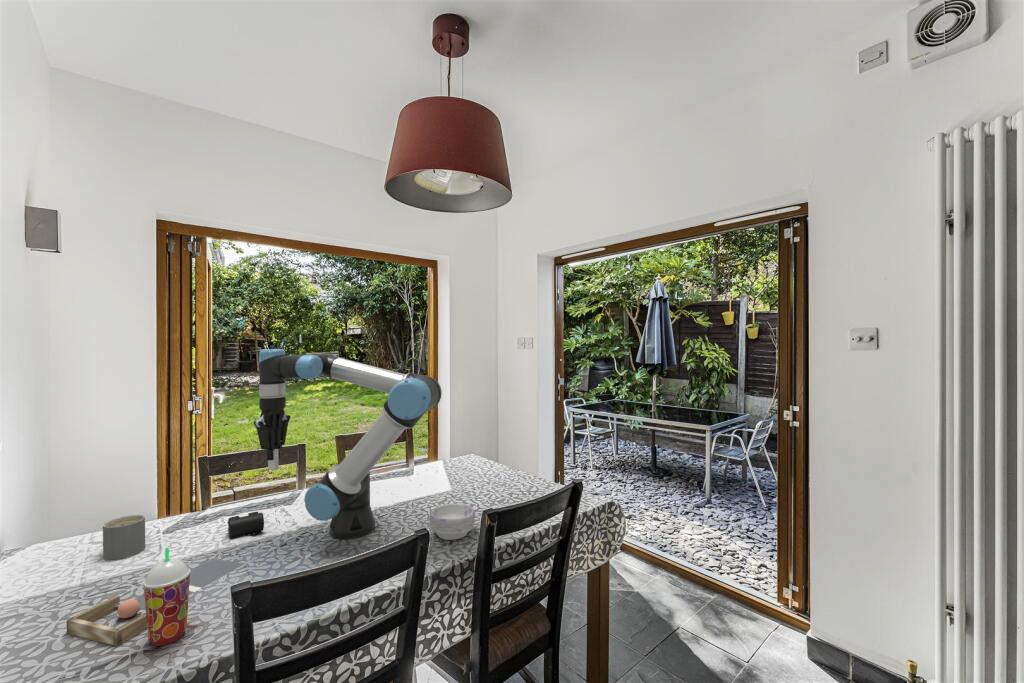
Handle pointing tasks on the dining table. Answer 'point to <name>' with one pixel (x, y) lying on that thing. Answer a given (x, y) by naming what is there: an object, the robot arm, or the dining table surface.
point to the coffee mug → (123, 537)
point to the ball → (128, 608)
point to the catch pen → (101, 633)
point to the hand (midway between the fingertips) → (273, 469)
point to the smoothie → (166, 600)
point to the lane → (203, 576)
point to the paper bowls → (452, 520)
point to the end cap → (245, 525)
